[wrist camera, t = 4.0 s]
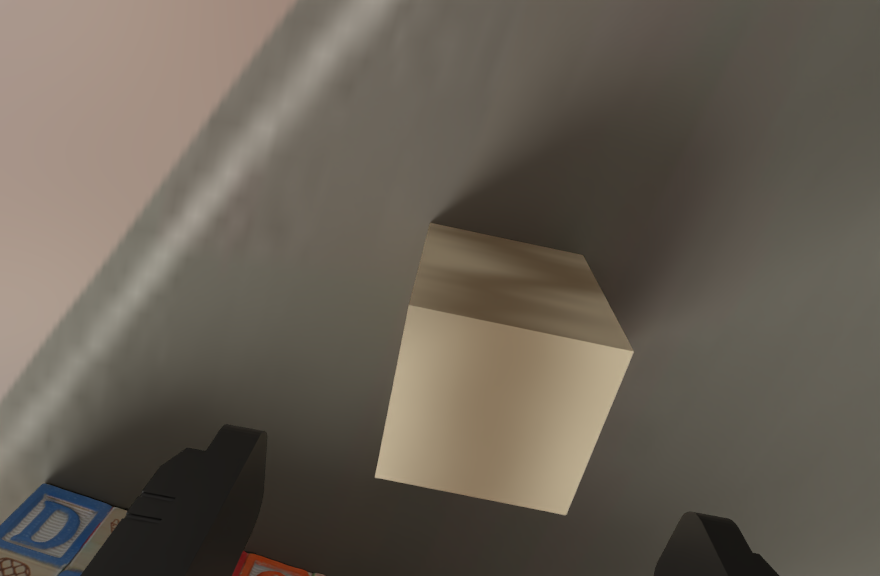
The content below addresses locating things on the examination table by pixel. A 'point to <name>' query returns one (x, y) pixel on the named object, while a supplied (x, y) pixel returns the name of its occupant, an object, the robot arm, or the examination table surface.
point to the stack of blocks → (81, 537)
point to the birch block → (501, 372)
